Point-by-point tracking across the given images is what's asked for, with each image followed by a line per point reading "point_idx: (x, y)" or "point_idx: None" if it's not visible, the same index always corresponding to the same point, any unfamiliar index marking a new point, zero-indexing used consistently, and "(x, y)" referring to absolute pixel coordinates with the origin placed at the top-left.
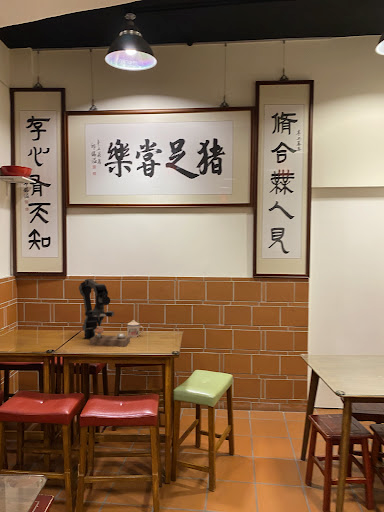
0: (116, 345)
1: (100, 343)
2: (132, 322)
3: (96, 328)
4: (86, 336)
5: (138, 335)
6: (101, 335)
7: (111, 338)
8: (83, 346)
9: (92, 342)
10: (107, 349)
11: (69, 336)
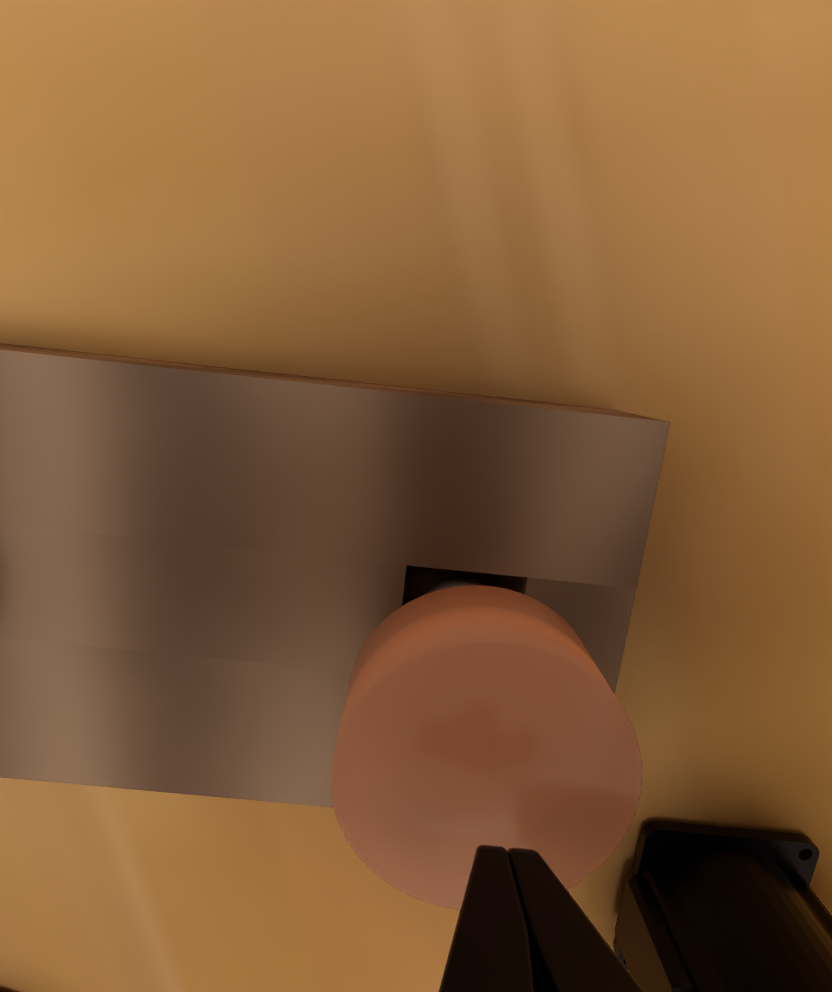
0: (16, 346)
1: (376, 385)
2: None
3: (603, 781)
4: (782, 881)
5: None
6: None
7: (117, 521)
8: (721, 285)
9: (566, 406)
10: (135, 53)
11: None
